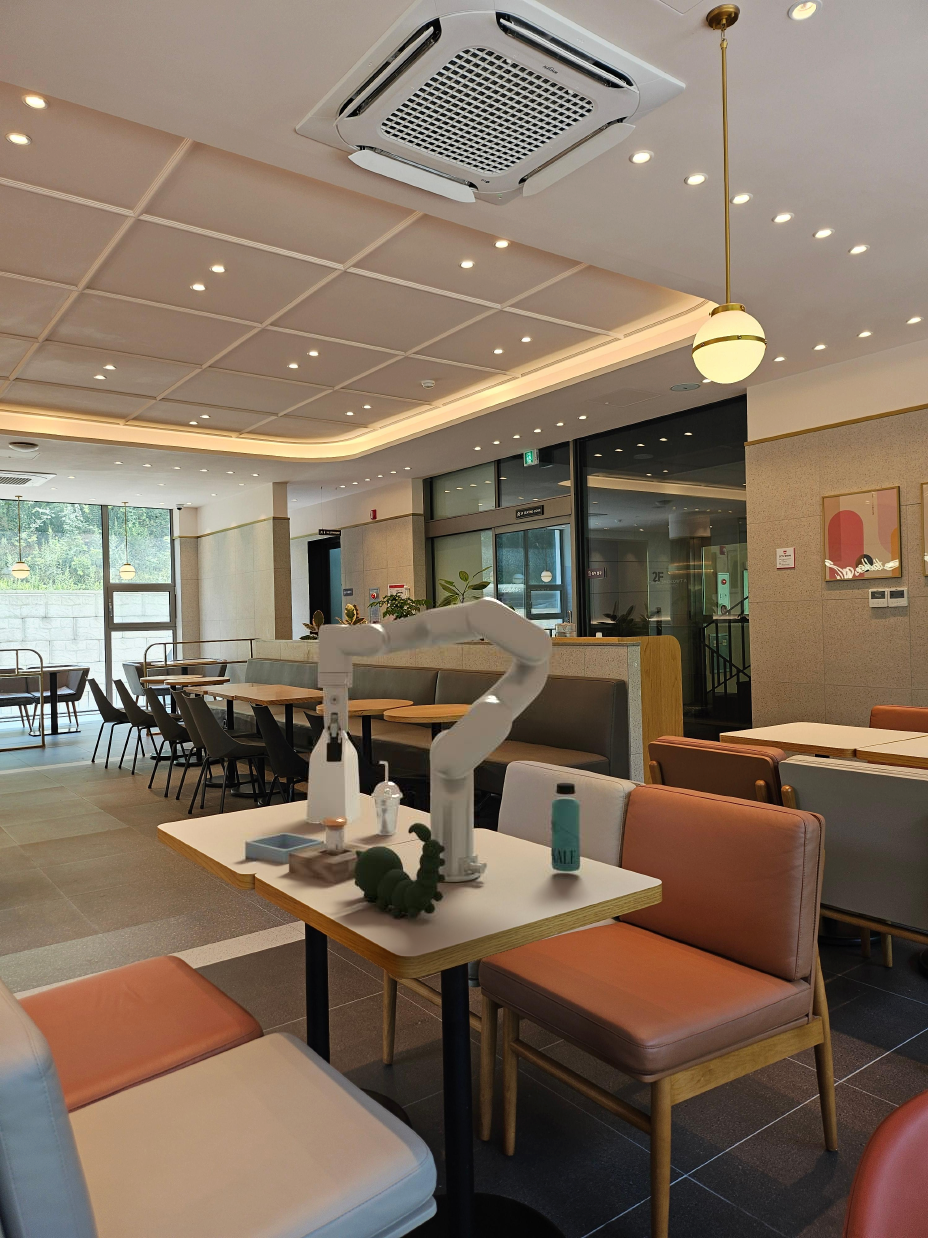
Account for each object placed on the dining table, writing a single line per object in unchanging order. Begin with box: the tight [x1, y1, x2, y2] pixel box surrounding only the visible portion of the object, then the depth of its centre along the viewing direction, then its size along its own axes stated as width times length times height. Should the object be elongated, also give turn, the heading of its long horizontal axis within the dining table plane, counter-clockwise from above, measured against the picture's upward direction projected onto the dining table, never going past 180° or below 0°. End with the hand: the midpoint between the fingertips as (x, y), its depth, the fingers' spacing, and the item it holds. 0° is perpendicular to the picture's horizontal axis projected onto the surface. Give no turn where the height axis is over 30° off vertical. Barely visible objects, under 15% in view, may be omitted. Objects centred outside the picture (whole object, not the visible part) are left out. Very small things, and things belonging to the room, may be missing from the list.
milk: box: [305, 728, 362, 824], centre depth 238 cm, size 12×12×26 cm
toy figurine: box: [354, 822, 445, 919], centre depth 158 cm, size 9×19×25 cm
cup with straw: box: [370, 760, 404, 836], centre depth 221 cm, size 8×9×20 cm
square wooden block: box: [288, 842, 370, 884], centre depth 181 cm, size 14×14×5 cm
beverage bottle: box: [550, 782, 581, 873], centre depth 181 cm, size 6×7×20 cm
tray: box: [244, 832, 325, 865], centre depth 195 cm, size 14×12×4 cm
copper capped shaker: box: [322, 817, 348, 856], centre depth 181 cm, size 5×5×11 cm
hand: (334, 758), depth 181 cm, fingers open, 9 cm apart
